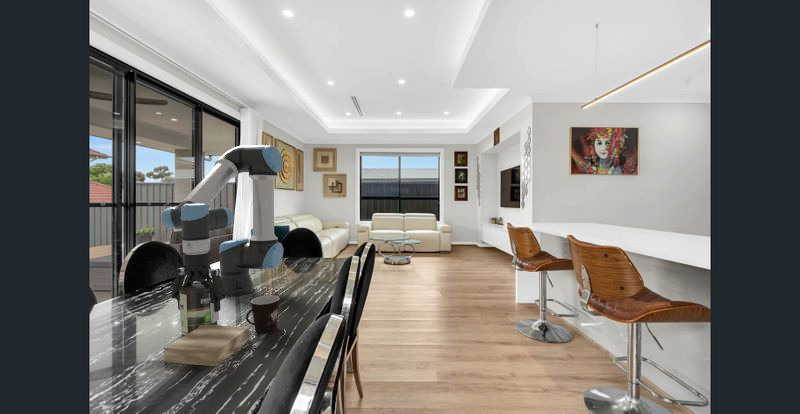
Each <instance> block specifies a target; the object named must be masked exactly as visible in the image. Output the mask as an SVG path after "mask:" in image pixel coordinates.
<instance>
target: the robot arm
mask: <svg viewBox="0 0 800 414" xmlns="http://www.w3.org/2000/svg"><path fill="white" fill-rule="evenodd" d="M283 167H284V162H283V157H282V154H281V152H280V150H279V149H278V147H276V146H275V145H268V144H258V145H253V144H252V145H239V146H235V147H233V148H231V149H230V150H229V149H228V150H227V151H226V152H225V153H223V154H222V155H220V157H219V158H217V160H216V161H214V167H213V168H212V169H211V170H210V171H209V172H208V173H207V174H206V175H205V176H204V177H203V178H202V179H201V180H200V182H199V183H198V184H197V185H196V186H195V187H194V188H193V189H192V190H191V191H190V192H189V193H188V194H187V195H186V197H185V198H184V199H183V200H182V201H181V202H180V203H179V204H178V205H177V206H172V207H168V208H165V209H163V211H162V213H161V216H160V218H161V219H160V220H161V223H162V224H163V226H164V227H165V228H167V229H171V230H172V229H174V230H181V235H182V237H181V240H182V241H181V243H182V253H183V254H182V262H183V263H182V265H183V266H184V267H179V268H176V269H175V273H174V274H175V278H174V283H173V288H172V292H171V296H170V298H171V299H173V300H174V299H175V300H176V301H177V309H178V311H179V317H180V319H179V320H180V322H181V310H180V292H179V288H180V287H188V286H191V285H192V283H195V282H196V283H197V282H201V284H202V285H204V287H205V288H210V287H212V286H214V289H212V290H210V297H211V299H212V301H213V302H211V303H210V308H211V323H214V322H216V321H217V322H218V321H219V320H220V314H219V313H220V311H221V301H223V300H225V299H226V298H227V297H237V296H241V295H246V294H248V293H251V292H253V291H254V289H255V284H254V282H253V279H252V277H251V276H252V275H251V273H250V270H264V271H265V270H274V269H276V268H277V267H279V265H280V264H281V262H282V259H283V257H284V247H283V244H282V243H281V242H279V239H278V238H279V237H277V236H276V235H275V182H274V181H275V180H276V179H277V178H278V173H280V172H281V171H282V170H283ZM242 173H248V177H249V178H250V179H251V180H252V234H253V235H251V236H250V238H237V239H231V240H227V241H223V242H221V243H220V244H219V251H218V254H219V268H216V269H214V268H211V263H212V262H211V261H212V260H211V259H212V258H211V257H212V255H211V254H212V253H211V252H210V251H211V237H210V234H211V233H210V232H212V231H216V230H224V229H226V228H229V227H230V226H232V225H233V223H234V220H235V215H234V212H233V211H232V210H231V209H230V208H229V207H225V206H224V207H222V206H221V207H220V206H218V207H209V205H210V204H211V203H212V202H213V201H214V200H215V198H216V197H217V196H218V195H219V194H220V192H221V191H222V190H223V188H225V186H226V185H227V184H229V183H228V182H229V181H230V180H231V179H235V178H236V177H237V176H238V175H239V174H242ZM185 276H186V277H185ZM212 282H213V283H212Z"/></svg>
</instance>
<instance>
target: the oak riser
mask: <svg viewBox="0 0 800 414" xmlns="http://www.w3.org/2000/svg"><path fill="white" fill-rule="evenodd" d="M250 331H251V330H250V327H249V326H236V325H220V324H218V325H202V326H201V327H199V328H197V329H196V330H194V331H192V332H190V333H189V334H187V335H183V336H182V337H180V338H178V339H177V340H175V341H173V342H171V343H170V344H167V346H164V347H163V353H164V354H163V355H164V363H168V364H169V363H170V364H182V365H183V364H184V365H196V366H211V367H218V366H219V365H220V364H221V363H223V362H224V361H225V360H226V359H227V358H229V357H230V356H232V354H234V353H236V350H237V349H238V350H239V349H240V348H242V347H243V346H244V345H245V344H246V342H247V341H248V342H249V341H250V340H251V336H250V335H251V334H250ZM248 342H247V343H248ZM242 345H243V346H242ZM241 346H242V347H241ZM238 350H237V351H238Z"/></svg>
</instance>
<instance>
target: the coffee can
mask: <svg viewBox="0 0 800 414" xmlns="http://www.w3.org/2000/svg"><path fill="white" fill-rule="evenodd" d="M212 283H213V282H212ZM212 289H214V286H212V287H210V288H205V287H204V285H202V284H201V282H197V281H196V282H193V283H192V285H191V286H188V287H180V288H179V292H180V310H181V321H180V329H181V330H180V331H181V332H180V333H181V335H183V336H185V335H187V334H189V333H190V332H192V331H194V330H196V329H197V328H199V327H201V326H202V325H219V323H218V320H217V321H216V322H214V323H211V308H210V303H211V302H213V301H212V299H211V297H210V290H212ZM180 310H179V311H180Z"/></svg>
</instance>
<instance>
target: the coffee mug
mask: <svg viewBox="0 0 800 414" xmlns="http://www.w3.org/2000/svg"><path fill="white" fill-rule="evenodd" d="M250 304H251V305H250V306H251V309H250V310H249V311H247V313H246V315H245V316H246V317H245V319H246V322H247V323H248V324H249V325H251V326H252V325H253V326H254V330H255V331H254V332H255V333H256V334H258V335H266V334H270V333H273V332H275V331H276V330H277V327H278V317H279V307H280V297H279V296H277V295H273V294H272V295H270V294H269V295H261V296H257V297H254V298H253V299H251V300H250ZM251 313H252V317H253V318H252V319H253V322H252V321H251V320H249V315H250V314H251Z"/></svg>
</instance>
